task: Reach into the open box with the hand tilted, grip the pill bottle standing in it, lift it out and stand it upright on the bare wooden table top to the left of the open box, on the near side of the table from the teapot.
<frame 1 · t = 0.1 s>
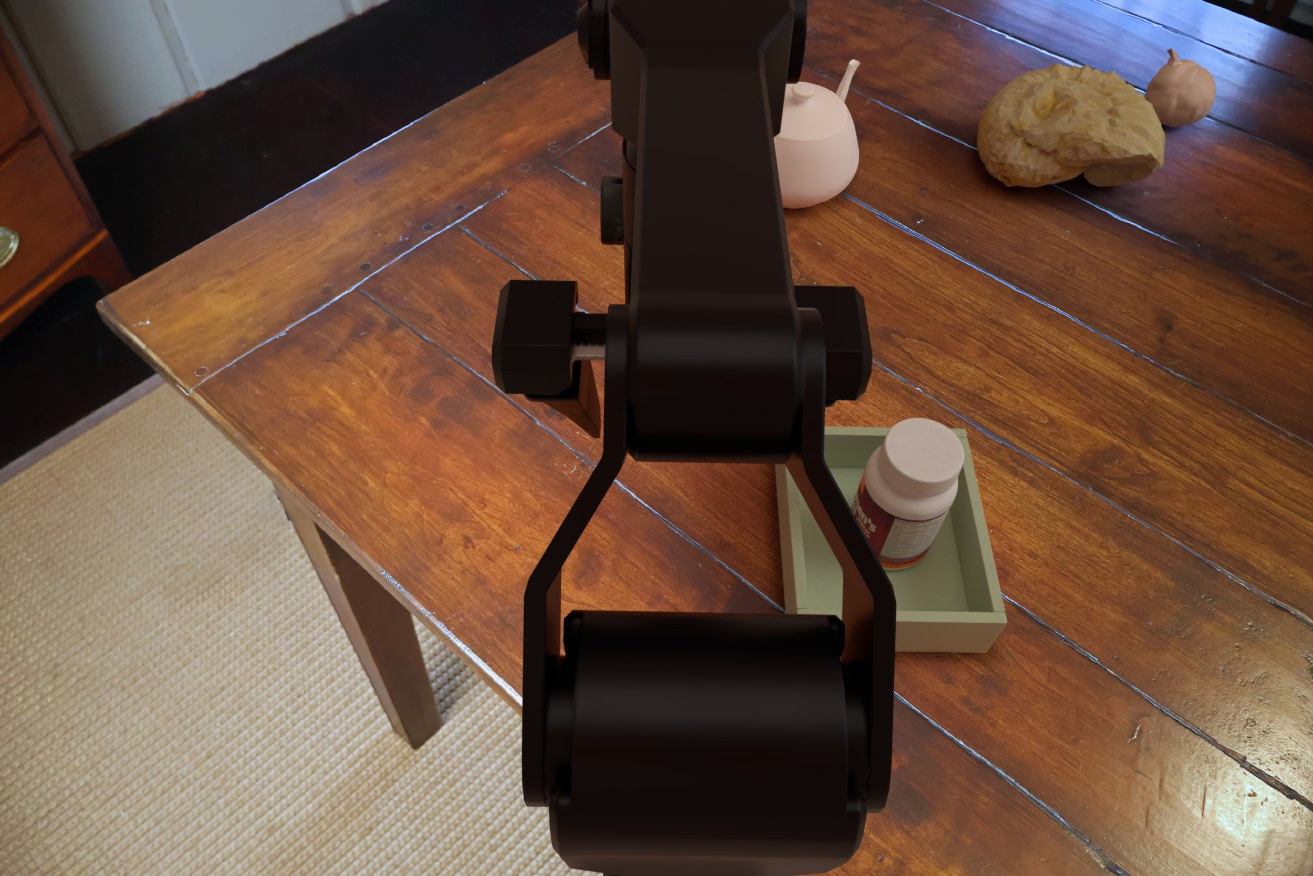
hand: (676, 433, 56), 16 cm above the table, tool pointing down, fingers open, 9 cm apart
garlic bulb: (1165, 122, 101), on the table
seashell: (1052, 176, 96), on the table
pill bottle: (886, 538, 71), resting on open box
open box: (873, 551, 70), on the table
teapot: (792, 177, 95), on the table
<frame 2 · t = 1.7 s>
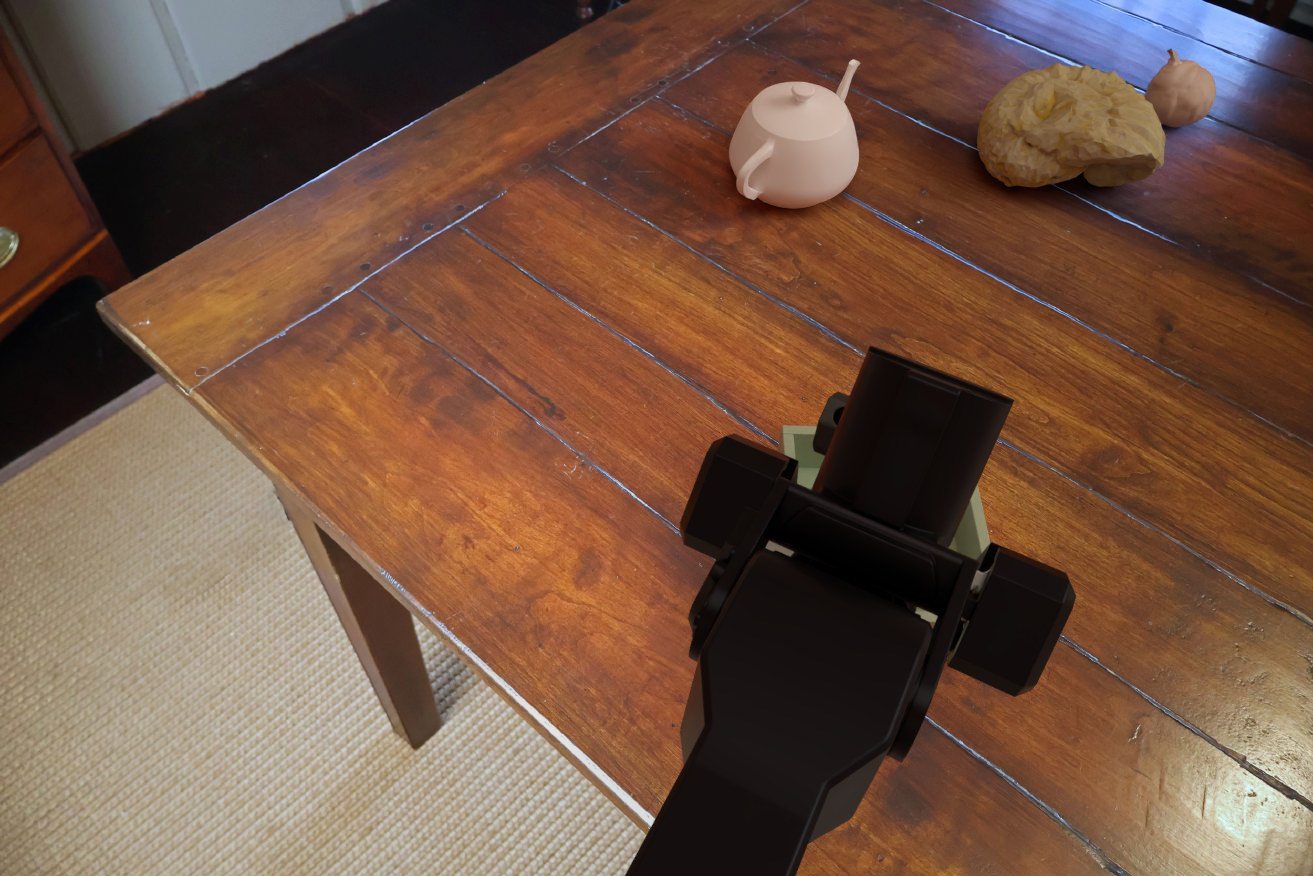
hand: (882, 529, 56), 13 cm above the table, tool tilted 45°, fingers open, 9 cm apart
nothing on the table moved.
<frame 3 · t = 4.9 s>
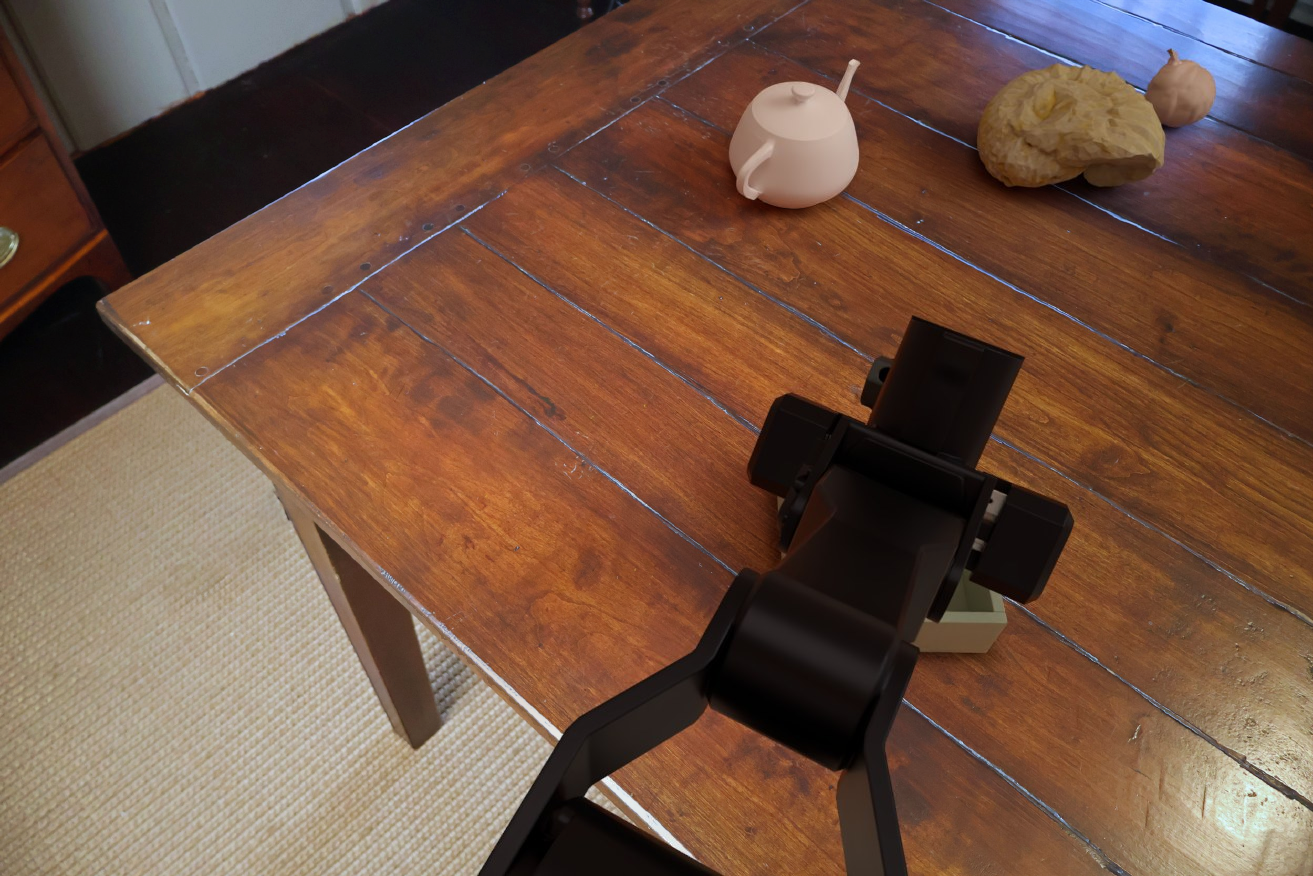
hand: (912, 476, 66), 7 cm above the table, tool tilted 45°, fingers closed on pill bottle, 6 cm apart
pill bottle: (886, 538, 71), resting on open box, touching gripper
everything else where it was.
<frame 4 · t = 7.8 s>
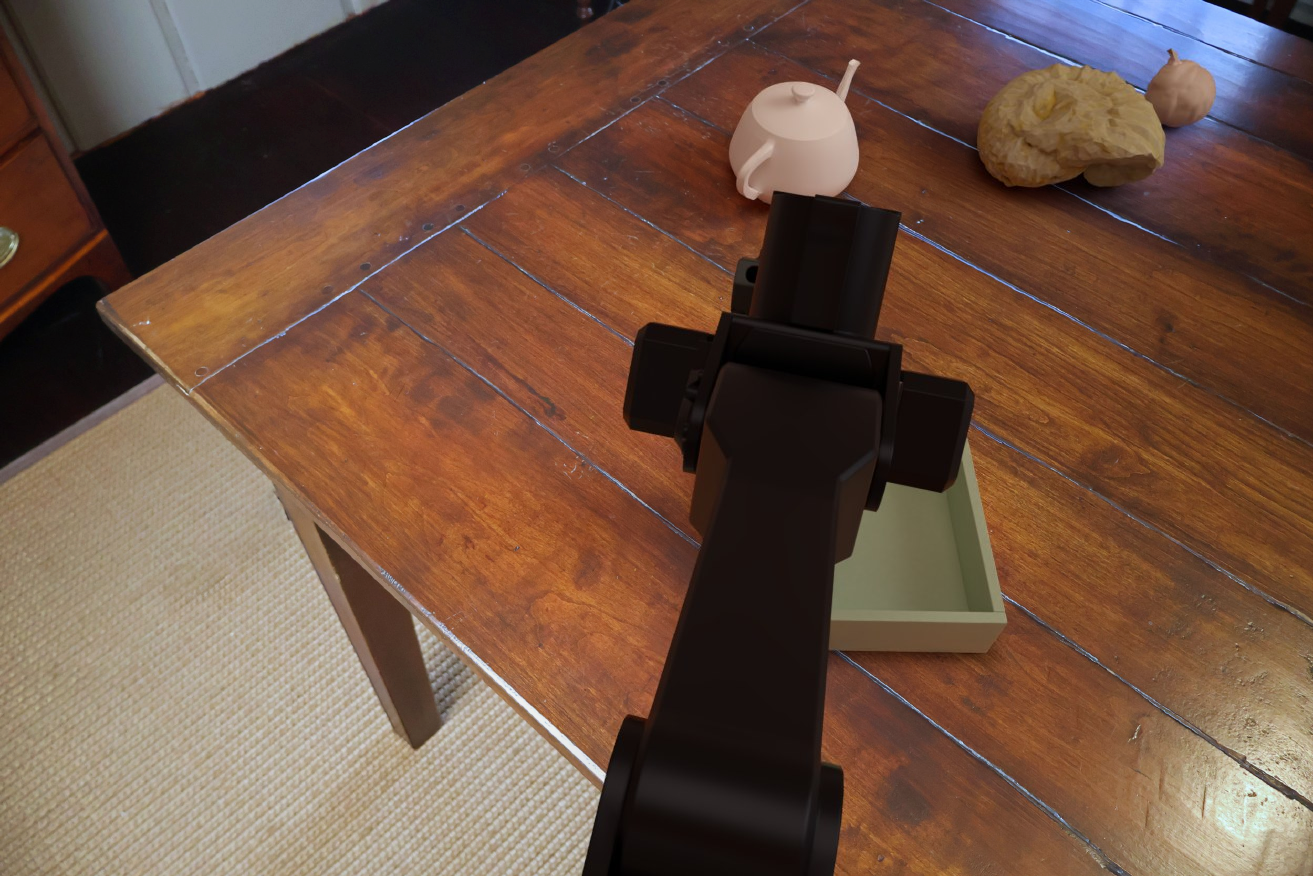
hand: (795, 392, 62), 13 cm above the table, tool tilted 45°, fingers closed on pill bottle, 6 cm apart
pill bottle: (780, 466, 66), point 7 cm above the table, touching gripper
everything else where it was.
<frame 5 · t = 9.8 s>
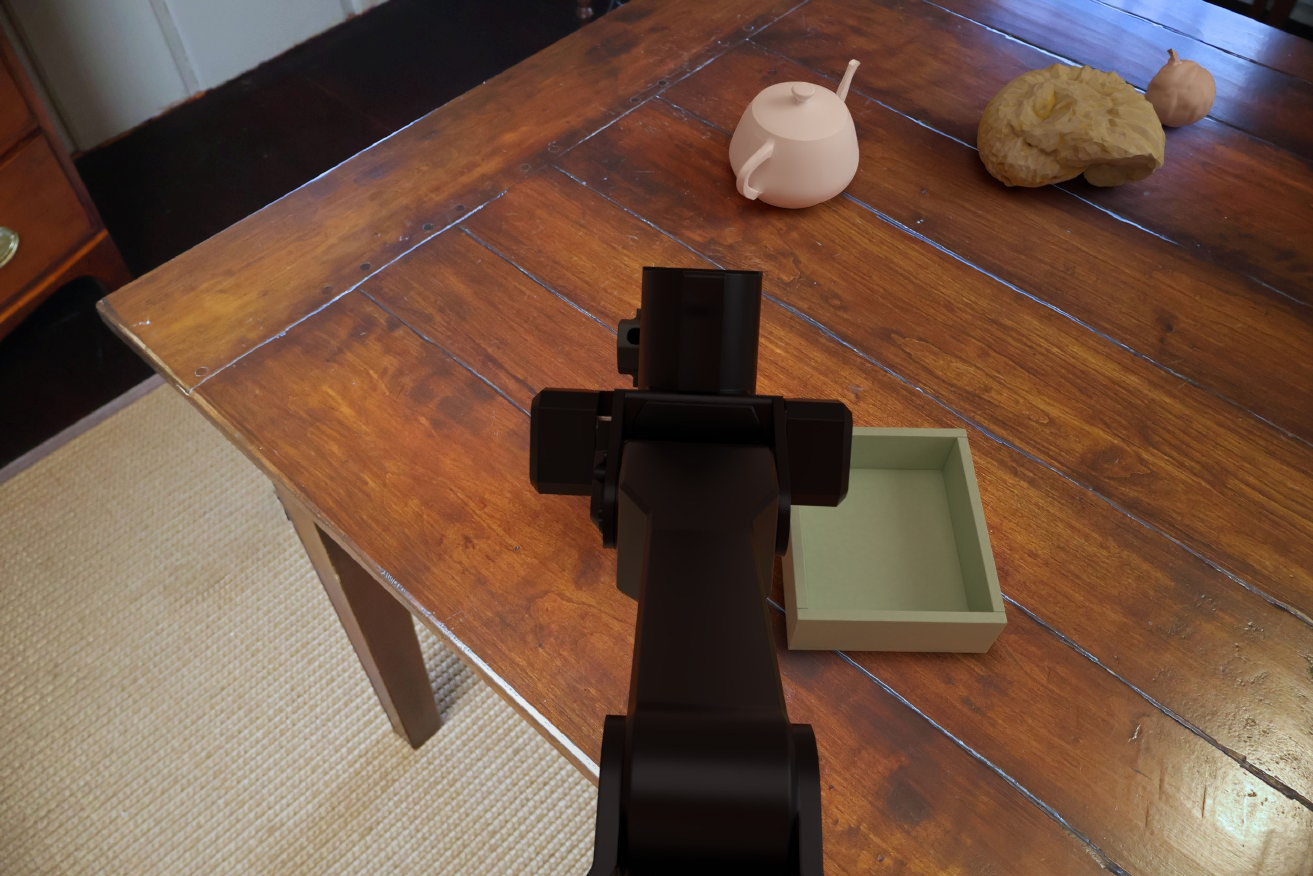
hand: (687, 427, 65), 9 cm above the table, tool tilted 45°, fingers closed on pill bottle, 6 cm apart
pill bottle: (683, 495, 70), point 3 cm above the table, touching gripper
everything else where it was.
when the fingers open (6 cm above the table, at t = 11.2 s): pill bottle stays where it is, on the table.
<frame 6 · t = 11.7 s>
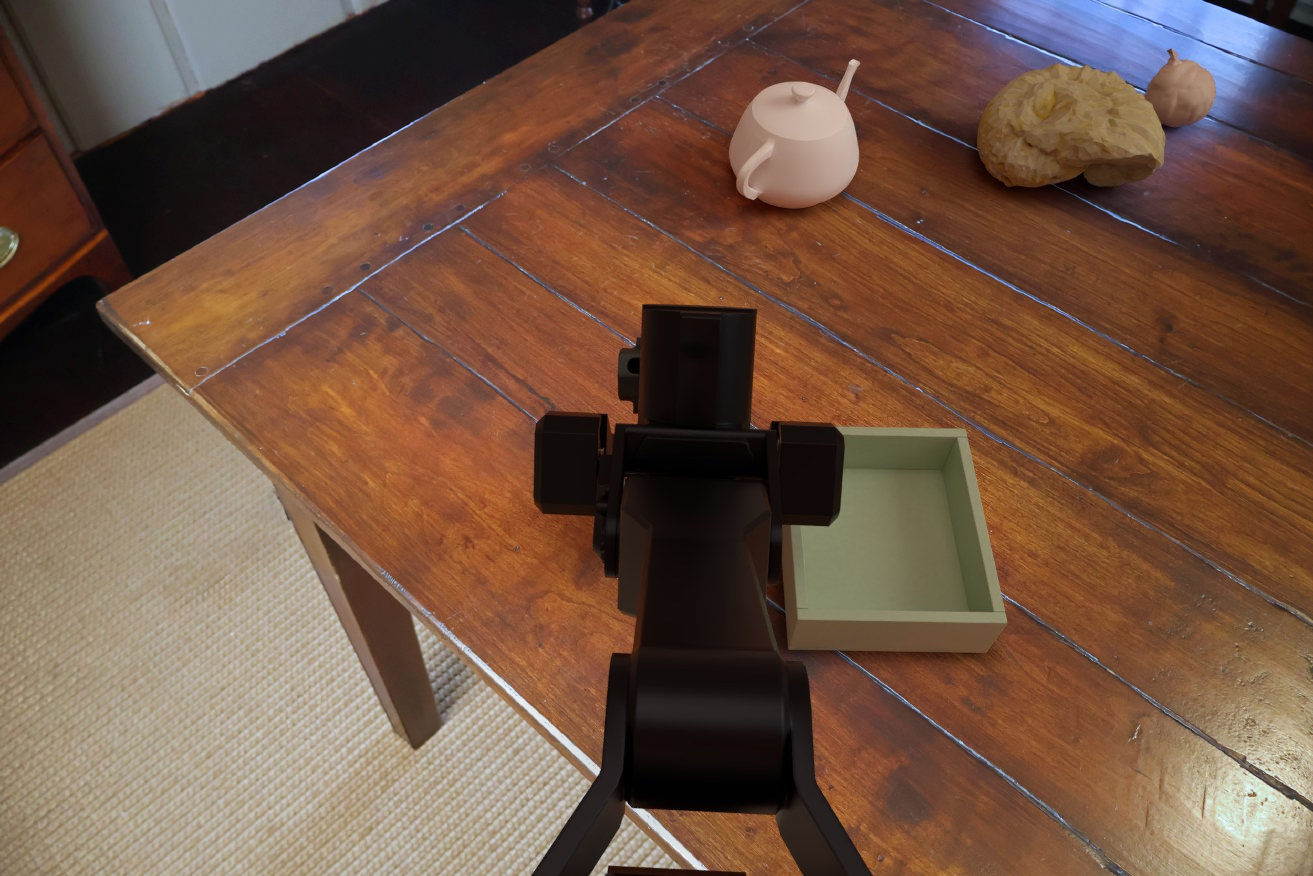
hand: (686, 445, 67), 7 cm above the table, tool tilted 45°, fingers open, 9 cm apart
pill bottle: (682, 515, 72), on the table
everything else where it was.
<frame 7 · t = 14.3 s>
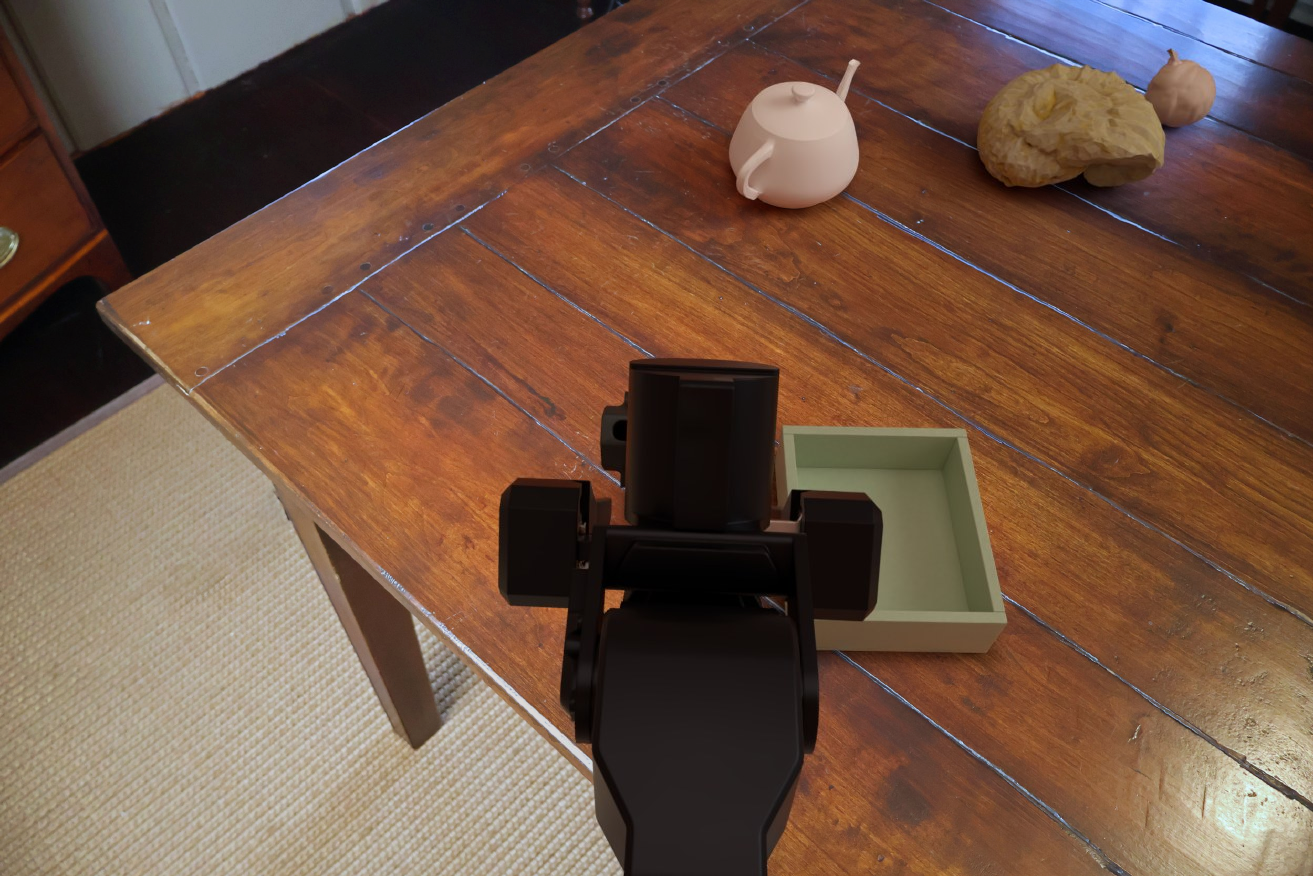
hand: (686, 509, 56), 14 cm above the table, tool tilted 45°, fingers open, 9 cm apart
nothing on the table moved.
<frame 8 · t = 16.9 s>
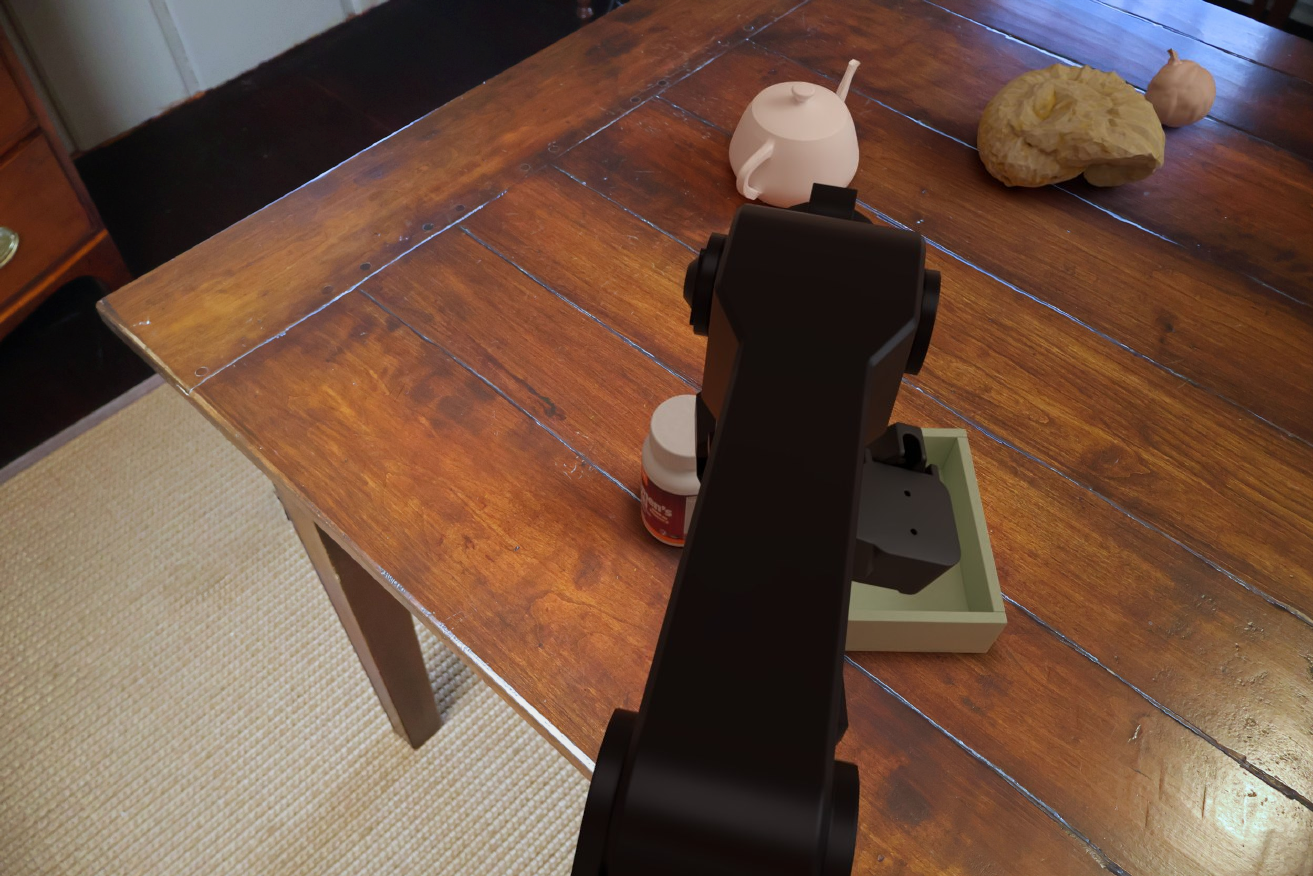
hand: (746, 624, 53), 13 cm above the table, tool pointing down, fingers open, 9 cm apart
nothing on the table moved.
at the end: pill bottle inside the target area (0.1 cm from its centre), on the table; pill bottle tilted 0°; pill bottle 40.6 cm from the teapot (horizontally) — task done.
